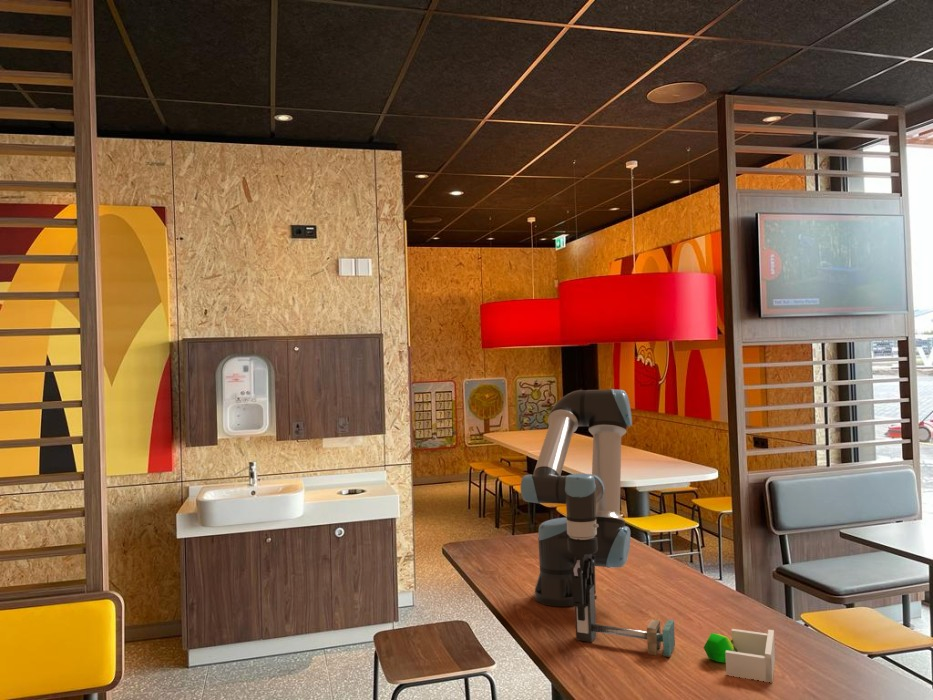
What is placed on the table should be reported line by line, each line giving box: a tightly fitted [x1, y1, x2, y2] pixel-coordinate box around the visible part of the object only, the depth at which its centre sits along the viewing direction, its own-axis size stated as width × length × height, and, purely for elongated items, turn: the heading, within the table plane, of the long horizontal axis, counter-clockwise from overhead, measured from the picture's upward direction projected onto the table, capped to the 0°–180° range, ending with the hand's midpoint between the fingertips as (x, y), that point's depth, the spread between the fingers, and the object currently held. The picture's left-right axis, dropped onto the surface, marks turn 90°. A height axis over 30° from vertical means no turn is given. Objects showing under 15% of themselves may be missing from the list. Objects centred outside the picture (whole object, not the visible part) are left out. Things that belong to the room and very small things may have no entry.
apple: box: [703, 632, 738, 664], centre depth 154 cm, size 7×6×9 cm
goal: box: [725, 628, 776, 684], centre depth 150 cm, size 9×14×6 cm, turn 153°
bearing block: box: [646, 619, 662, 656], centre depth 160 cm, size 2×6×6 cm, turn 153°
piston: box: [574, 584, 676, 658], centre depth 164 cm, size 23×7×13 cm, turn 63°
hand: (585, 628), depth 168 cm, fingers closed on piston, 4 cm apart
